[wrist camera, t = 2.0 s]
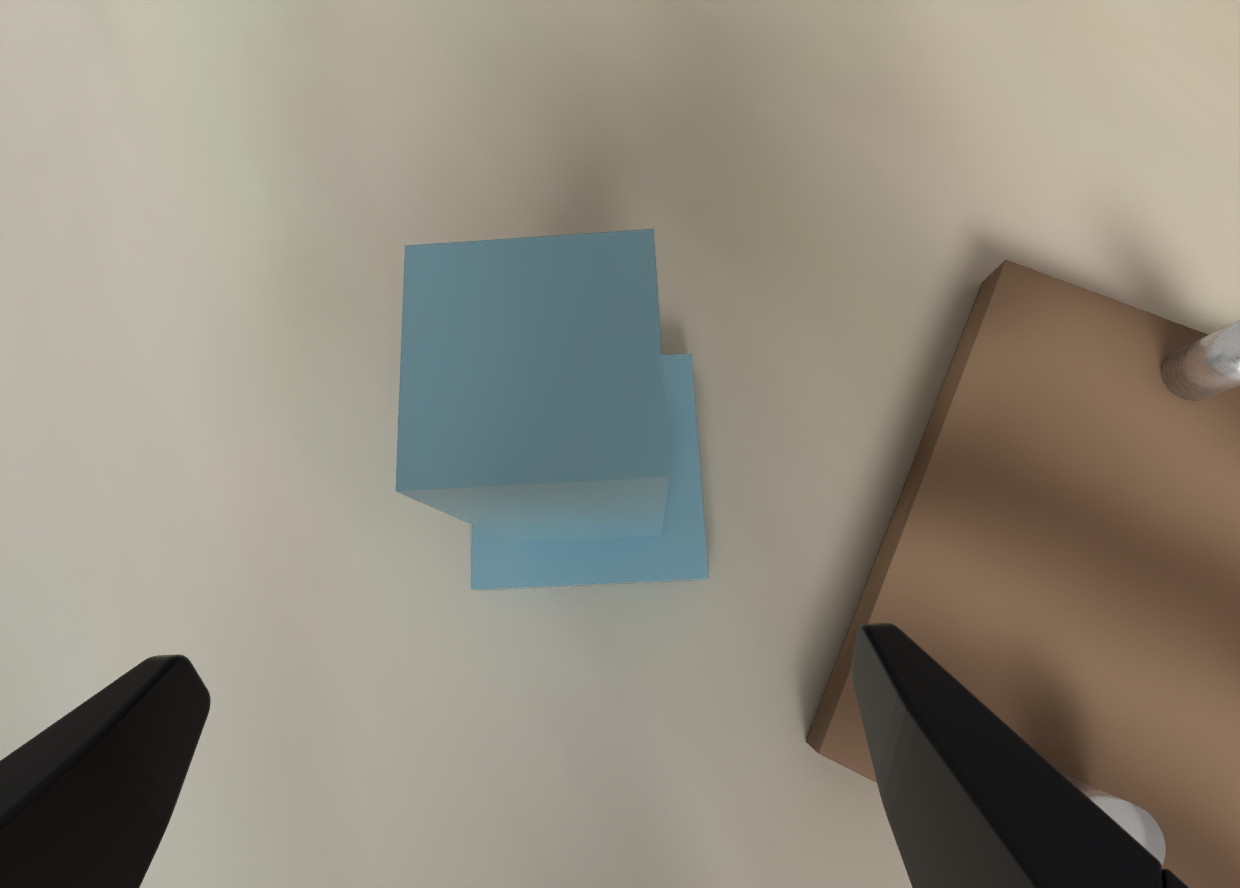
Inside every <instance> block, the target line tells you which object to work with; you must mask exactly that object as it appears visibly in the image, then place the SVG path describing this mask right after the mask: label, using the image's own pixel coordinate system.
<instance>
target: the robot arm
mask: <svg viewBox="0 0 1240 888" xmlns="http://www.w3.org/2000/svg"><path fill="white" fill-rule="evenodd" d="M851 672H852V681H853V686H854V690H855V694H856V698H857V702H858V707H859V711H860V715H861V719H862V723H863V727H864V731H865V735H866V739H867V743H868V748H869V752H870V756H871V760H872V764H873V768H874V772H875V776H876V780H877V784H878V788H879V792H880V796H881V799H882V803H883V806H884V809H885V812H886V815H887V818H888V821H889V824H890V826H891V829H892V832H893V835H894V837H895V840H896V843H897V846H898V849H899V851H900V854H901V857H902V860H903V862H904V865H905V868H906V871H907V874H908V876H909V879H910V882H911V885H912V887H913V888H1190V887H1188V886H1187V885H1186V884H1185V883H1184V882H1183V881H1182V880H1181V879H1180V878H1178V877H1177V876H1176V875H1175V874H1174V873H1173V872H1172V871H1170V870H1169V869H1162V865H1161V863H1160V861H1159V860H1158V859H1157V858H1156V857H1155V856H1153V855H1152V854H1151V853H1150V852H1149V851H1148V850H1147V849H1146V848H1144V847H1143V846H1142V845H1141V844H1140V843H1139V842H1138V841H1137V840H1135V839H1134V838H1133V837H1132V836H1131V835H1130V834H1129V833H1128V832H1127V831H1125V830H1124V829H1123V828H1122V827H1121V826H1120V825H1119V824H1118V823H1116V822H1115V821H1114V820H1113V819H1112V818H1111V817H1110V816H1109V815H1108V814H1106V813H1105V812H1104V811H1103V810H1102V809H1101V808H1100V807H1099V806H1097V805H1096V804H1095V803H1094V802H1093V801H1092V800H1091V799H1090V798H1089V797H1087V796H1086V795H1085V794H1084V793H1083V792H1082V791H1081V790H1080V789H1078V788H1077V787H1076V786H1075V785H1074V784H1073V783H1072V782H1071V781H1070V780H1068V779H1067V778H1066V777H1065V776H1064V775H1063V774H1062V773H1061V772H1059V771H1058V770H1057V769H1056V768H1055V767H1054V766H1053V765H1052V764H1051V763H1049V762H1048V761H1047V760H1046V759H1045V758H1044V757H1043V756H1042V755H1040V754H1039V753H1038V752H1037V751H1036V750H1035V749H1034V748H1033V747H1031V746H1030V745H1029V744H1028V743H1027V742H1026V741H1025V740H1024V739H1023V738H1021V737H1020V736H1019V735H1018V734H1017V733H1016V732H1015V731H1014V730H1012V729H1011V728H1010V727H1009V726H1008V725H1007V724H1006V723H1005V722H1004V721H1002V720H1001V719H1000V718H999V717H998V716H997V715H996V714H995V713H993V712H992V711H991V710H990V709H989V708H988V707H987V706H986V705H985V704H983V703H982V702H981V701H980V700H979V699H978V698H977V697H976V696H974V695H973V694H972V693H971V692H970V691H969V690H968V689H967V688H966V687H964V686H963V685H962V684H961V683H960V682H959V681H958V680H957V679H955V678H954V677H953V676H952V675H951V674H950V673H949V672H948V671H947V670H945V669H944V668H943V667H942V666H941V665H940V664H939V663H938V662H936V661H935V660H934V659H933V658H932V657H931V656H930V655H929V654H928V653H926V652H925V651H924V650H923V649H922V648H921V647H920V646H919V645H917V644H916V643H915V642H914V641H913V640H912V639H911V638H910V637H908V636H907V635H906V634H905V633H904V632H903V631H902V630H901V629H900V628H898V627H897V626H896V625H894V624H891V623H870V624H863V625H861V626H860V628H859V630H858V633H857V639H856V644H855V650H854V655H853V661H852V670H851ZM209 709H210V694H209V691H208V689H207V688H206V686H205V684H204V683H203V681H202V680H201V678H200V676H199V675H198V673H197V671H196V670H195V668H194V666H193V665H192V663H191V661H190V660H189V659H188V658H187V657H185V656H183V655H159V656H153V657H150V658H148V659H146V660H144V661H143V662H141V663H140V664H138V665H137V666H136V667H134V668H133V669H131V670H130V671H128V672H127V673H125V674H124V675H123V676H121V677H120V678H118V679H117V680H115V681H114V682H113V683H111V684H110V685H108V686H107V687H105V688H104V689H103V690H101V691H100V692H98V693H97V694H95V695H94V696H93V697H91V698H90V699H88V700H87V701H85V702H84V703H83V704H81V705H80V706H78V707H77V708H75V709H74V710H73V711H71V712H70V713H68V714H67V715H65V716H64V717H63V718H61V719H60V720H58V721H57V722H55V723H54V724H52V725H51V726H50V727H48V728H47V729H45V730H44V731H42V732H41V733H40V734H38V735H37V736H35V737H34V738H32V739H31V740H30V741H28V742H27V743H25V744H24V745H22V746H21V747H20V748H18V749H17V750H15V751H14V752H12V753H11V754H10V755H8V756H7V757H5V758H4V759H2V760H1V761H0V888H139V887H140V885H141V883H142V881H143V879H144V877H145V874H146V872H147V870H148V868H149V866H150V864H151V862H152V859H153V857H154V855H155V853H156V851H157V849H158V846H159V844H160V842H161V840H162V837H163V835H164V833H165V831H166V828H167V826H168V823H169V821H170V818H171V816H172V813H173V810H174V808H175V805H176V803H177V800H178V797H179V794H180V791H181V789H182V786H183V783H184V780H185V777H186V775H187V772H188V769H189V766H190V763H191V761H192V758H193V755H194V752H195V749H196V747H197V744H198V741H199V738H200V735H201V733H202V730H203V727H204V724H205V722H206V719H207V716H208V713H209Z"/></svg>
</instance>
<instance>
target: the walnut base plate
mask: <svg viewBox="0 0 1240 888" xmlns="http://www.w3.org/2000/svg"><path fill="white" fill-rule="evenodd" d="M1205 336H1207V334H1204V333H1202V332H1199V331H1196V330H1194V329H1191V328H1188V327H1186V326H1183V325H1180V324H1178V323H1175V322H1172V321H1169V320H1167V319H1164V318H1161V317H1159V316H1156V315H1153V314H1151V313H1148V312H1145V311H1143V310H1140V309H1137V308H1134V307H1132V306H1129V305H1126V304H1124V303H1121V302H1118V301H1116V300H1113V299H1110V298H1108V297H1105V296H1102V295H1100V294H1097V293H1094V292H1091V291H1089V290H1086V289H1083V288H1081V287H1078V286H1075V285H1073V284H1070V283H1067V282H1065V281H1062V280H1059V279H1056V278H1054V277H1051V276H1048V275H1046V274H1043V273H1040V272H1038V271H1035V270H1032V269H1030V268H1027V267H1024V266H1021V265H1019V264H1016V263H1013V262H1011V261H1008V260H1005V261H1004V262H1003V263H1002V264H1001V265H1000V266H999V267H998V268H997V269H996V270H995V271H994V272H993V273H992V274H991V275H989V276H988V277H987V278H986V279H985V280H984V281H983V282H982V285H981V287H980V290H979V292H978V295H977V298H976V300H975V303H974V305H973V308H972V311H971V313H970V316H969V318H968V321H967V324H966V326H965V329H964V331H963V334H962V337H961V339H960V342H959V344H958V347H957V350H956V352H955V355H954V358H953V360H952V363H951V365H950V368H949V371H948V373H947V376H946V378H945V381H944V384H943V386H942V389H941V391H940V394H939V397H938V399H937V402H936V404H935V407H934V410H933V412H932V415H931V417H930V420H929V423H928V425H927V428H926V430H925V433H924V436H923V438H922V441H921V443H920V446H919V449H918V451H917V454H916V456H915V459H914V462H913V464H912V467H911V469H910V472H909V475H908V477H907V480H906V482H905V485H904V488H903V490H902V493H901V495H900V498H899V501H898V503H897V506H896V508H895V511H894V514H893V516H892V519H891V521H890V524H889V527H888V529H887V532H886V534H885V537H884V540H883V542H882V545H881V548H880V550H879V553H878V555H877V558H876V561H875V563H874V566H873V568H872V571H871V574H870V576H869V579H868V581H867V584H866V587H865V589H864V592H863V594H862V597H861V600H860V602H859V605H858V607H857V610H856V613H855V615H854V618H853V620H852V623H851V626H850V628H849V631H848V633H847V636H846V639H845V641H844V644H843V646H842V649H841V652H840V654H839V657H838V659H837V662H836V665H835V667H834V670H833V672H832V675H831V678H830V680H829V683H828V685H827V688H826V691H825V693H824V696H823V698H822V701H821V704H820V706H819V709H818V711H817V714H816V717H815V719H814V722H813V724H812V727H811V730H810V732H809V735H808V738H807V740H806V742H807V743H808V744H809V745H810V746H811V747H812V748H813V749H814V750H815V751H817V752H818V753H819V754H821V755H823V756H825V757H827V758H829V759H831V760H833V761H835V762H837V763H839V764H841V765H843V766H845V767H847V768H849V769H851V770H853V771H855V772H857V773H859V774H861V775H863V776H865V777H867V778H869V779H871V780H873V781H875V782H877V780H876V776H875V772H874V768H873V764H872V760H871V756H870V752H869V748H868V743H867V739H866V735H865V731H864V727H863V723H862V719H861V715H860V711H859V707H858V702H857V698H856V694H855V690H854V686H853V681H852V672H851V670H852V661H853V655H854V650H855V644H856V639H857V633H858V630H859V628H860V626H861V625H863V624H870V623H891V624H894V625H896V626H897V627H898V628H900V629H901V630H902V631H903V632H904V633H905V634H906V635H907V636H908V637H910V638H911V639H912V640H913V641H914V642H915V643H916V644H917V645H919V646H920V647H921V648H922V649H923V650H924V651H925V652H926V653H928V654H929V655H930V656H931V657H932V658H933V659H934V660H935V661H936V662H938V663H939V664H940V665H941V666H942V667H943V668H944V669H945V670H947V671H948V672H949V673H950V674H951V675H952V676H953V677H954V678H955V679H957V680H958V681H959V682H960V683H961V684H962V685H963V686H964V687H966V688H967V689H968V690H969V691H970V692H971V693H972V694H973V695H974V696H976V697H977V698H978V699H979V700H980V701H981V702H982V703H983V704H985V705H986V706H987V707H988V708H989V709H990V710H991V711H992V712H993V713H995V714H996V715H997V716H998V717H999V718H1000V719H1001V720H1002V721H1004V722H1005V723H1006V724H1007V725H1008V726H1009V727H1010V728H1011V729H1012V730H1014V731H1015V732H1016V733H1017V734H1018V735H1019V736H1020V737H1021V738H1023V739H1024V740H1025V741H1026V742H1027V743H1028V744H1029V745H1030V746H1031V747H1033V748H1034V749H1035V750H1036V751H1037V752H1038V753H1039V754H1040V755H1042V756H1043V757H1044V758H1045V759H1046V760H1047V761H1048V762H1049V763H1051V764H1052V765H1053V766H1054V767H1055V768H1056V769H1057V770H1058V771H1059V772H1061V773H1062V774H1063V775H1065V776H1068V777H1070V778H1072V779H1075V780H1077V781H1079V782H1082V783H1084V784H1087V785H1089V786H1091V787H1094V788H1096V789H1099V790H1101V791H1103V792H1106V793H1108V794H1111V795H1113V796H1115V797H1118V798H1120V799H1123V800H1125V801H1127V802H1130V803H1132V804H1134V805H1137V806H1139V807H1141V808H1142V809H1144V810H1145V811H1147V812H1148V813H1149V814H1150V815H1151V816H1152V817H1153V818H1154V819H1155V821H1156V822H1157V824H1158V825H1159V827H1160V829H1161V831H1162V833H1163V836H1164V840H1165V847H1166V852H1165V859H1164V862H1163V865H1162V869H1169V870H1170V871H1172V872H1173V873H1174V874H1175V875H1176V876H1177V877H1178V878H1180V879H1181V880H1182V881H1183V882H1184V883H1185V884H1186V885H1187V886H1188V887H1190V888H1240V386H1238V387H1235V388H1232V389H1229V390H1227V391H1224V392H1221V393H1219V394H1216V395H1213V396H1210V397H1208V398H1205V399H1202V400H1197V401H1190V400H1185V399H1182V398H1180V397H1178V396H1176V395H1174V394H1173V393H1172V392H1170V391H1169V390H1168V388H1167V387H1166V386H1165V384H1164V383H1163V381H1162V378H1161V373H1160V368H1161V364H1162V362H1163V360H1164V358H1165V357H1166V356H1167V355H1169V354H1170V353H1172V352H1174V351H1176V350H1178V349H1180V348H1182V347H1184V346H1187V345H1189V344H1191V343H1193V342H1195V341H1197V340H1199V339H1201V338H1203V337H1205Z"/></svg>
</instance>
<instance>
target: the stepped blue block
mask: <svg viewBox="0 0 1240 888" xmlns="http://www.w3.org/2000/svg"><path fill="white" fill-rule="evenodd" d="M396 492H399V493H401V494H403V495H406V496H408V497H410V498H412V499H415V500H417V501H419V502H422V503H424V504H426V505H428V506H431V507H433V508H435V509H438V510H440V511H442V512H445V513H447V514H449V515H451V516H454V517H456V518H458V519H461V520H463V521H465V522H467V523H470V524H472V549H471V590H497V589H518V588H539V587H560V586H581V585H602V584H623V583H644V582H665V581H686V580H706V579H708V578H709V576H708V563H707V550H706V537H705V524H704V511H703V498H702V485H701V471H700V458H699V445H698V432H697V419H696V406H695V393H694V380H693V367H692V354H691V353H690V354H673V355H662V350H661V335H660V319H659V304H658V288H657V273H656V257H655V242H654V229H647V230H632V231H617V232H602V233H587V234H572V235H557V236H542V237H527V238H512V239H497V240H482V241H467V242H452V243H438V244H423V245H408V246H405V260H404V286H403V313H402V339H401V365H400V391H399V418H398V444H397V470H396Z"/></svg>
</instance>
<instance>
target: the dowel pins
mask: <svg viewBox="0 0 1240 888" xmlns="http://www.w3.org/2000/svg"><path fill="white" fill-rule="evenodd" d="M1160 373H1161V378H1162V381H1163V383H1164V384H1165V386H1166V387H1167V388H1168V390H1169V391H1170V392H1172V393H1173V394H1174V395H1176V396H1178V397H1180V398H1182V399H1185V400H1190V401H1197V400H1202V399H1205V398H1208V397H1210V396H1213V395H1216V394H1219V393H1221V392H1224V391H1227V390H1229V389H1232V388H1235V387H1238V386H1240V320H1239V321H1237V322H1235V323H1232V324H1230V325H1228V326H1226V327H1224V328H1222V329H1220V330H1218V331H1216V332H1214V333H1212V334H1210V335H1207V336H1205V337H1203V338H1201V339H1199V340H1197V341H1195V342H1193V343H1191V344H1189V345H1187V346H1184V347H1182V348H1180V349H1178V350H1176V351H1174V352H1172V353H1170V354H1169V355H1167V356H1166V357H1165V358H1164V360H1163V362H1162V364H1161V368H1160ZM1064 776H1065V775H1064ZM1065 777H1066V778H1067V779H1068V780H1070V781H1071V782H1072V783H1073V784H1074V785H1075V786H1076V787H1077V788H1078V789H1080V790H1081V791H1082V792H1083V793H1084V794H1085V795H1086V796H1087V797H1089V798H1090V799H1091V800H1092V801H1093V802H1094V803H1095V804H1096V805H1097V806H1099V807H1100V808H1101V809H1102V810H1103V811H1104V812H1105V813H1106V814H1108V815H1109V816H1110V817H1111V818H1112V819H1113V820H1114V821H1115V822H1116V823H1118V824H1119V825H1120V826H1121V827H1122V828H1123V829H1124V830H1125V831H1127V832H1128V833H1129V834H1130V835H1131V836H1132V837H1133V838H1134V839H1135V840H1137V841H1138V842H1139V843H1140V844H1141V845H1142V846H1143V847H1144V848H1146V849H1147V850H1148V851H1149V852H1150V853H1151V854H1152V855H1153V856H1155V857H1156V858H1157V859H1158V860H1159V861H1160V863H1161V865H1163V862H1164V859H1165V852H1166V847H1165V840H1164V836H1163V833H1162V831H1161V829H1160V827H1159V825H1158V824H1157V822H1156V821H1155V819H1154V818H1153V817H1152V816H1151V815H1150V814H1149V813H1148V812H1147V811H1145V810H1144V809H1142V808H1141V807H1139V806H1137V805H1134V804H1132V803H1130V802H1127V801H1125V800H1123V799H1120V798H1118V797H1115V796H1113V795H1111V794H1108V793H1106V792H1103V791H1101V790H1099V789H1096V788H1094V787H1091V786H1089V785H1087V784H1084V783H1082V782H1079V781H1077V780H1075V779H1072V778H1070V777H1068V776H1065Z"/></svg>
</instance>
